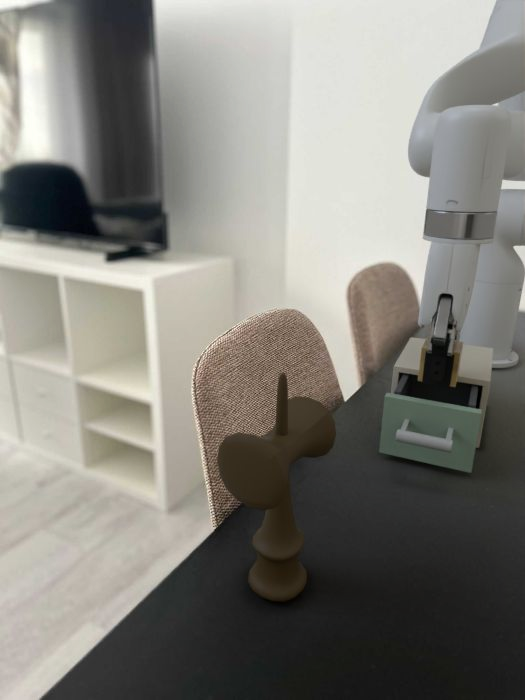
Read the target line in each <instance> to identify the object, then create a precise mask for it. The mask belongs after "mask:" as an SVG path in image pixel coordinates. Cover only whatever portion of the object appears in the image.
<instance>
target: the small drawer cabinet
mask: <svg viewBox="0 0 525 700" xmlns="http://www.w3.org/2000/svg"><path fill="white" fill-rule="evenodd" d="M425 340H426V338H420V337H411V336H410V337H409V339H408V341H407V343H406V345H405V346H404V348H403V349H402V351H401V353H400V355H399V356H398V358H397V360H396V362H395V364H394V365H393V371H392V380H391V387H390V388H391V391H390V393H392V394H394V391H395V389H396V387H397V385H398V383H399V381H400V379H401V378H402V376H403V374H404V373H407V374H413V375H418V374H419V366H420V358H421V349H422V346H423V344H424V342H425ZM492 359H493V348H487V347H479V346H472V345H465V344H463V348H462V355H461V361H460V368H459V375H458V379H457V382H462V383H469V384H475V385H479V386H478V393H477V400H476V407H475V408H476V409H481V410H482V414H481V420H480V425H479V431H478V437H477V443H476V449H477V448H478V449H479V448H480V445H481V439H482V433H483V428H484V421H485V417H486V411H487V404H488V399H489V395H490V394H489V393H490V387H491V381H492V370H493V368H492Z"/></svg>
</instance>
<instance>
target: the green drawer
mask: <svg viewBox="0 0 525 700" xmlns="http://www.w3.org/2000/svg"><path fill="white" fill-rule="evenodd" d="M478 386H479V385H475V384H469V383H462V382H457V383H456V387H451V386H449V387H443V386H437V385H431V384H425V383H423V382H421V381H418V375H413V374H407V373H404V374H403V376H402V378H401V379H400V381H399V383H398V385H397V387H396V389H395V391H394V394H392V393H391V392H386V393H385V395H384V399H383V411H382V420H381V429H380V438H379V439H380V440H379V450H378V453H381V454H384V455H389V456H394V457H398V458H402V459H408V460H410V461H411V460H412V461H415V462H420V463H425V464H428V465H434V466H437V467H441V468H446V469H452V470H456V471H459V472H464V473H470V474H472V471H473V466H474V460H475V453H476V449H477V447H476V443H477V437H478V431H479V425H480V420H481V414H482V410H481V409H476V408H475V407H476V400H477V393H478Z"/></svg>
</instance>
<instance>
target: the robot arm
mask: <svg viewBox="0 0 525 700" xmlns="http://www.w3.org/2000/svg"><path fill="white" fill-rule="evenodd" d="M496 104H497V105H496ZM407 144H408V145H407V146H408V148H407V158H408V163H409V165H410V167H411V169H412V171H413V172H414V173H416V174H417V175H418V176H421V177H424V178H429V180H428V189H427V190H428V191H427V198H426V205H425V215H424V223H423V230H422V231H423V232H422V240H424V241H428V242H430V245H429V249H428V254H427V261H426V266H425V270H424V271H425V272H424V279H423V284H422V285H423V286H422V293H421V299H420V306H419V311H418V312H419V313H418V318H417V325H418V327H419V328H420V329H423V328H425V327H428V326H429V325H430V329H429V336H428V337H429V343H428V349H427V351H426V354H425V362H424V370H423V378H422V381H423V383H425V384H431V385H437V386H443V387H449V386H450V383H451V377H452V370H453V363H454V356H455V355H454V354H452V353H453V346H454V341H459V342H463V344H465V345H472V346H479V347H487V348H493V359H492V369H505V368H507V369H508V368H511V367H514V366H516V365H517V364H519V360H520V359H519V358H520V357H519V354H518V353H517V352H515V351H514V350H513V349H512V347H513V342H514V337H515V333H516V327H517V320H518V316H519V310H520V304H521V299H522V294H523V289H524V283H525V265H524V261H523V260H522V258H521V257H520V255H519V254H518V252H517V251H516V250H515V247H522V246H523V247H525V189H523V188H502V186H503V181H511V182H525V0H496V1H495V3H494V5H493V9H492V12H491V14H490V15H489V19H488V22H487V25H486V29H485V31H484V34H483V36H482V39H481V42H480V45H479V48H478V49H476V50H475V51H473V52H472V53H470V54H469V55H467V56H466V57H464V58H463V59H461V60H460V61H459V62H457V63H456V64H455V65H453V66H452V67H450V68H449V69H448V70H446V71H445V72H444V73H443V74H441V75H440V76H439V77H438V78H437V79H436V80H435V81H434V82H433V83H432V85H431V86H430V87H429V88H428V90H427V91H426V93H425V95H424V97H423V99H422V101H421V104H420V106H419V109H418V111H417V115H416V116H415V118H414V122H413V125H412V128H411V131H410V135H409V139H408V143H407ZM458 334H459V339H458Z"/></svg>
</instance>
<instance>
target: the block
mask: <svg viewBox="0 0 525 700" xmlns="http://www.w3.org/2000/svg"><path fill="white" fill-rule="evenodd" d="M425 339H426V340H425V342H424V344H423V346H422V349H421V358H420V366H419V374H418V381H421V382H423V381H422V378H423V370H424V362H425V354H426V351H427V349H428V343H429V336H427V337H426V338H425ZM462 348H463V342H459V340H457V341H455V340H454V346H453V353H452V354H454V355H455V356H454V363H453V370H452V377H451V383H450V386H451V387H456V383H457V379H458V375H459V368H460V361H461V355H462Z"/></svg>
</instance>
